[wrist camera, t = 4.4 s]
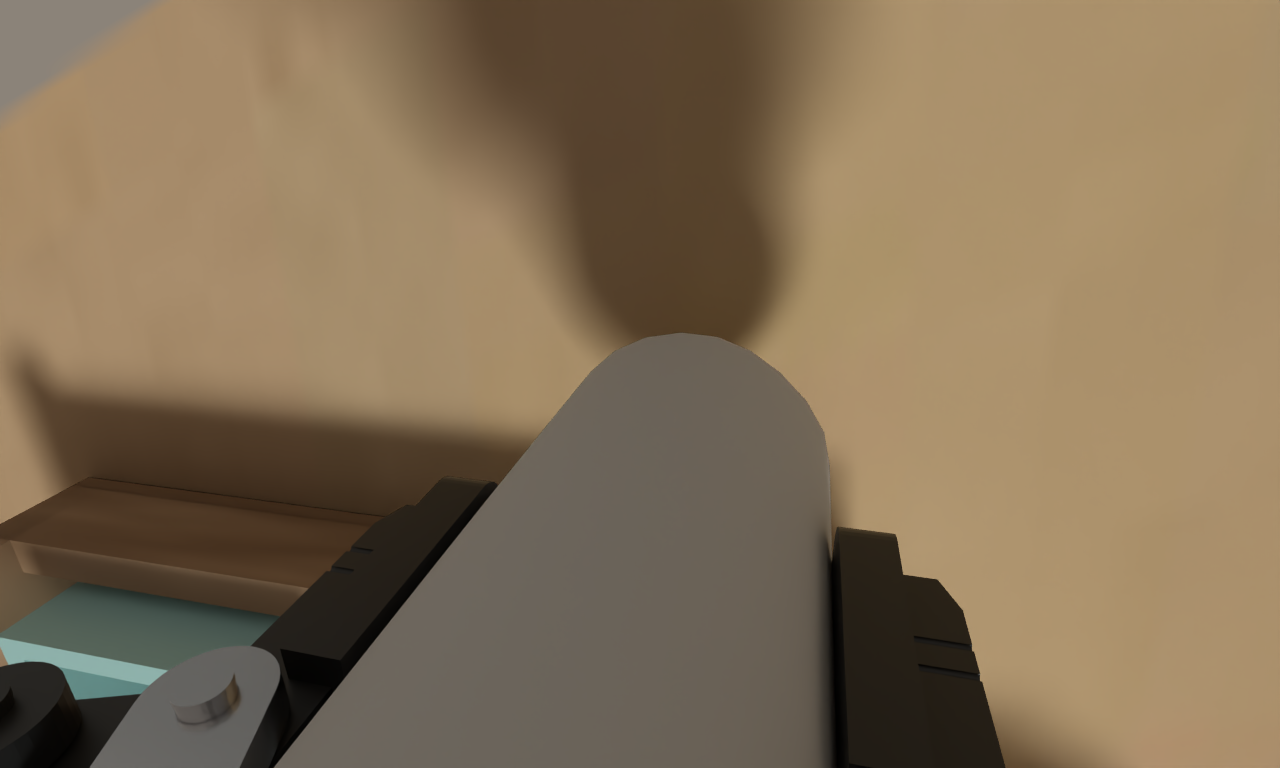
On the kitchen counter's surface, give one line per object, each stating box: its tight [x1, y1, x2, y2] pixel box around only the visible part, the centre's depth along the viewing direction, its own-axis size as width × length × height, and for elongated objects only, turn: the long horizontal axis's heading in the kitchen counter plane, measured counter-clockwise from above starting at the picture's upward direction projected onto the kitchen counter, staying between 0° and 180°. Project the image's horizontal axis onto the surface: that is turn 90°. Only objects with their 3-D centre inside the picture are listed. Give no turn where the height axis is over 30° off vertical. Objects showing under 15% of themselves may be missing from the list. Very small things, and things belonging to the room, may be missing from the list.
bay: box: [0, 478, 385, 667], centre depth 18 cm, size 10×22×4 cm, turn 90°
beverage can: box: [274, 333, 837, 768], centre depth 8 cm, size 5×5×12 cm
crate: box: [0, 582, 280, 700], centre depth 19 cm, size 7×8×4 cm
